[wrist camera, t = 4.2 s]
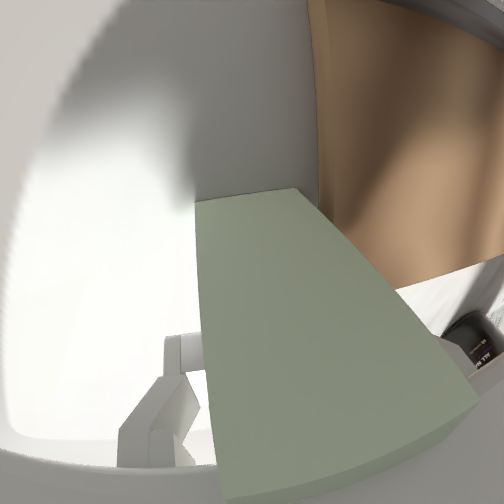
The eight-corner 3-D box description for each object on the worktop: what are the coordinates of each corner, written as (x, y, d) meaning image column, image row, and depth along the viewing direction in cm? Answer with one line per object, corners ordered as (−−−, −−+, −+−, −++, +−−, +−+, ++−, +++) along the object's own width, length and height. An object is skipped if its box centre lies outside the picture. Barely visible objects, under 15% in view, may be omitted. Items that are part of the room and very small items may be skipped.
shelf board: (539, 69, 9) (578, 79, 6) (521, 233, 17) (552, 257, 13) (303, -24, 7) (352, -63, 4) (316, 288, 14) (350, 345, 11)
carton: (296, 187, 12) (483, 398, 3) (297, 310, 15) (379, 493, 6) (193, 202, 11) (218, 499, 3) (217, 326, 14) (256, 529, 6)
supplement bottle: (447, 318, 19) (530, 428, 9) (491, 301, 20) (565, 386, 10) (418, 373, 22) (477, 470, 12) (463, 352, 23) (520, 432, 13)
